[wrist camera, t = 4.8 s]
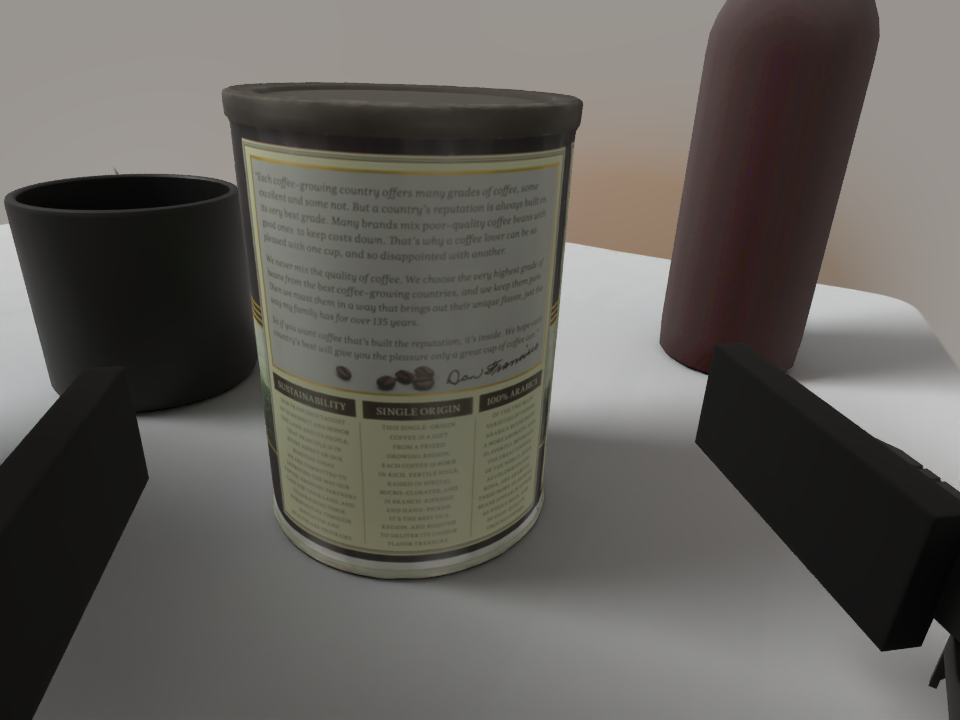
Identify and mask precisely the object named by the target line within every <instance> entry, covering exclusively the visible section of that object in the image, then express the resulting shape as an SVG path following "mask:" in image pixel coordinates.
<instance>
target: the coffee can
mask: <svg viewBox="0 0 960 720" xmlns="http://www.w3.org/2000/svg"><path fill="white" fill-rule="evenodd" d="M222 102H223V108H224V114H225V115H226V116H227V117H228V119H229V121H230V127H231V135H232V144H233V151H234V160H235V170H236V178H237V187H238V194H239V203H240V210H241V219H242V229H243V238H244V246H245V253H246V261H247V270H248V279H249V287H250V293H251V301H252V309H253V317H254V326H255V335H256V343H257V352H258V360H259V369H260V377H261V385H262V395H263V405H264V413H265V421H266V429H267V439H268V447H269V456H270V464H271V473H272V481H273V489H274V490H273V508H274V512H275V515H276V518H277V521H278V523H279V525H280V527H281V529H282V530H283V532H284V534H285V535H286V536H287V537H288V539H289V540H290V541H291V542H292V543H293V544H294V545H296V546H297V547H298V548H300V549H301V550H302V551H303V552H305V553H306V554H308V555H310V556H311V557H313V558H314V559H316V560H318V561H320V562H322V563H325V564H327V565H329V566H332V567H335V568H337V569H340V570H344V571H347V572H351V573H355V574H359V575H364V576H371V577H375V578H384V579H394V578H426V577H434V576H440V575H445V574H449V573H454V572H458V571H461V570H464V569H467V568H470V567H473V566H476V565H479V564H481V563H483V562H485V561H487V560H489V559H492V558H494V557H496V556H498V555H500V554H502V553H503V552H505V551H506V550H507V549H508V548H510V547H511V546H512V545H513V544H515V543H516V542H518V541H519V540H520V539H521V538H522V537H523V536H524V535H525V534H526V533H527V532H528V531H529V530H530V529H531V527H532V526H533V525H534V523H535V521H536V520H537V518H538V516H539V514H540V511H541V509H542V505H543V501H544V486H543V478H544V465H545V454H546V443H547V432H548V422H549V412H550V401H551V390H552V379H553V368H554V358H555V348H556V338H557V328H558V318H559V306H560V294H561V283H562V272H563V261H564V250H565V239H566V228H567V218H568V208H569V198H570V197H569V196H570V187H571V175H572V165H573V153H574V141H575V134H576V130H577V129H578V127H579V126H580V122H581V116H582V107H583V102H582V101H581V100H580V99H578V98H576V97H574V96H570V95H563V94H556V93H545V92H536V91H524V90H511V89H493V88H478V87H456V86H436V85H405V84H370V83H320V82H306V83H265V84H261V83H259V84H244V85H235V86H230V87H228V88H225V89H223V90H222Z"/></svg>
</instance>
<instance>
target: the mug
mask: <svg viewBox="0 0 960 720" xmlns="http://www.w3.org/2000/svg"><path fill="white" fill-rule="evenodd" d="M4 204H5V209H6V212H7V216H8V220H9V224H10V228H11V232H12V235H13V239H14V243H15V247H16V251H17V255H18V258H19V262H20V266H21V270H22V274H23V277H24V281H25V285H26V289H27V293H28V297H29V300H30V304H31V308H32V312H33V316H34V320H35V323H36V327H37V331H38V335H39V339H40V343H41V346H42V350H43V354H44V358H45V362H46V365H47V369H48V373H49V377H50V381H51V385H52V387H53V388H54V389H55V391H56V392H57V393H58V394H59V395H60V396H61V395H62V394H63V393H64V392H65V390H66V389H67V388H68V387H69V386H70V385H71V384H72V382H73V381H74V380H75V379H76V378H77V377H78V375H79V374H80V373H81V372H82V371H83V370H84V368H92V367H118V366H126V370H127V375H128V380H129V384H130V389H131V394H132V399H133V404H134V408H135V412H136V411H148V410H157V409H164V408H170V407H175V406H179V405H184V404H188V403H192V402H195V401H199V400H202V399H205V398H208V397H210V396H213V395H216V394H218V393H220V392H223V391H225V390H227V389H229V388H231V387H232V386H234V385H236V384H237V383H239V382H240V381H242V380H243V379H244V378H245V377H246V376H248V374H249V373H250V372H251V371H252V370H253V368H254V365H255V363H256V360H257V356H258V352H257V343H256V335H255V326H254V317H253V309H252V301H251V293H250V287H249V279H248V270H247V261H246V253H245V246H244V238H243V229H242V219H241V210H240V203H239V194H238V188H237V186H235V185H234V184H232V183H229V182H226V181H223V180H219V179H214V178H208V177H200V176H191V175H175V174H123V175H102V176H89V177H78V178H70V179H62V180H55V181H49V182H44V183H38V184H34V185H30V186H27V187H23V188H20V189H17V190H15V191H13V192H11V193H9V194H7V195H6V196H5V200H4Z"/></svg>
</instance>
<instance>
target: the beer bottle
mask: <svg viewBox="0 0 960 720" xmlns="http://www.w3.org/2000/svg"><path fill="white" fill-rule="evenodd" d="M879 37H880V36H879V16H878V12H877V8H876V3H875V0H727V1H726V3H725V5H724V6H723V7H722V9H721V11H720V12H719V14H718V16H717V18H716V20H715V22H714V25H713V27H712V29H711V32H710V35H709V40H708V45H707V50H706V54H705V61H704V66H703V72H702V78H701V85H700V91H699V96H698V103H697V108H696V115H695V120H694V127H693V133H692V139H691V145H690V151H689V157H688V163H687V169H686V175H685V181H684V187H683V193H682V199H681V206H680V211H679V217H678V224H677V229H676V235H675V242H674V248H673V254H672V259H671V266H670V272H669V278H668V284H667V290H666V296H665V302H664V308H663V314H662V322H661V333H660V345H661V346H662V347H663V349H664V350H665V352H666V353H667V354H668V355H669V356H670V357H672V358H673V359H675V360H677V361H678V362H680V363H682V364H683V365H685V366H687V367H690V368H693V369H696V370H699V371H702V372H704V373H707V374H709V371H710V366H711V361H712V356H713V351H714V346H715V344H724V343H745V344H747V345H748V346H749V347H751V348H752V349H753V350H755V351H756V352H757V353H759V354H760V355H762V356H763V357H764V358H766V359H767V360H768V361H770V362H771V363H773V364H774V365H775V366H777V367H778V368H779V369H781V370H782V371H784V372H785V371H787V370H788V369H789V368H791V367H792V366H793V364H794V361H795V358H796V355H797V352H798V349H799V346H800V343H801V340H802V337H803V333H804V329H805V326H806V322H807V318H808V314H809V310H810V306H811V302H812V299H813V295H814V291H815V287H816V283H817V279H818V275H819V272H820V268H821V264H822V260H823V256H824V253H825V249H826V245H827V241H828V237H829V233H830V229H831V225H832V222H833V218H834V214H835V210H836V206H837V202H838V199H839V195H840V191H841V187H842V183H843V180H844V176H845V172H846V168H847V164H848V160H849V156H850V153H851V148H852V145H853V141H854V137H855V133H856V129H857V126H858V122H859V118H860V114H861V110H862V107H863V103H864V99H865V95H866V91H867V87H868V83H869V79H870V76H871V72H872V68H873V64H874V60H875V55H876V51H877V46H878V41H879Z"/></svg>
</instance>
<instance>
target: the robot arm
mask: <svg viewBox="0 0 960 720" xmlns="http://www.w3.org/2000/svg"><path fill="white" fill-rule="evenodd" d="M695 443H696V444H697V445H698V446H699V447H700V448H701V449H702V451H703V452H704V453H705V454H706V455H707V456H708V457H709V458H710V460H711V461H712V462H713V463H714V464H715V465H716V466H717V467H718V469H719V470H720V471H721V472H722V473H723V474H724V475H725V476H726V478H727V479H728V480H729V481H730V482H731V483H732V484H733V485H734V487H735V488H736V489H737V490H738V491H739V492H740V493H741V494H742V496H743V497H744V498H745V499H746V500H747V501H748V502H749V503H750V505H751V506H752V507H753V508H754V509H755V510H756V511H757V512H758V514H759V515H760V516H761V517H762V518H763V519H764V520H765V521H766V523H767V524H768V525H769V526H770V527H771V528H772V529H773V530H774V532H775V533H776V534H777V535H778V536H779V537H780V538H781V539H782V541H783V542H784V543H785V544H786V545H787V546H788V547H789V548H790V550H791V551H792V552H793V553H794V554H795V555H796V556H797V557H798V558H799V560H800V561H801V562H802V563H803V564H804V565H805V566H806V567H807V569H808V570H809V571H810V572H811V573H812V574H813V575H814V576H815V578H816V579H817V580H818V581H819V582H820V583H821V584H822V585H823V587H824V588H825V589H826V590H827V591H828V592H829V593H830V594H831V596H832V597H833V598H834V599H835V600H836V601H837V602H838V603H839V605H840V606H841V607H842V608H843V609H844V610H845V611H846V612H847V614H848V615H849V616H850V617H851V618H852V619H853V620H854V621H855V623H856V624H857V625H858V626H859V627H860V628H861V629H862V630H863V632H864V633H865V634H866V635H867V636H868V637H869V638H870V639H871V641H872V642H873V643H874V644H875V645H876V646H877V647H878V648H879V650H880V651H881V652H883V651H890V650H898V649H905V648H913V647H920V646H922V643H923V641H924V639H925V637H926V634H927V632H928V630H929V627H930V625H931V623H932V620H933V618H934V619H935V620H936V621H937V622H938V623H939V624H940V625H941V626H943V627H944V628H945V629H946V630H947V631H948V632H949V633H950V637H949V639H948V641H947V643H946V645H945V648H944V650H943V652H942V654H941V656H940V659H939V661H938V663H937V665H936V667H935V669H934V672H933V674H932V676H931V679H930V682H929V686H930V687H933V688H935V689H936V688H937V686H938V684H939V682H940V680H942V679H945V678H946V688H947V700H948V711H949V720H960V492H959V491H958V490H956V489H955V488H954V487H952V486H951V485H949V484H948V483H947V482H941V480H940V479H941V478H940V477H938V476H937V475H935V474H934V473H933V472H931V471H930V470H928V469H923V465H921V464H920V463H919V462H917V461H916V460H914V459H913V458H912V457H910V456H909V455H907V454H906V453H905V452H903V451H902V450H900V449H898V448H896V447H894V446H891V445H889V444H887V443H885V442H883V441H881V440H879V439H876V438H874V437H873V436H871V435H870V434H869V433H867V432H866V431H865V430H863V429H862V428H860V427H859V426H858V425H856V424H855V423H854V422H852V421H851V420H849V419H848V418H847V417H845V416H844V415H843V414H841V413H840V412H838V411H837V410H836V409H834V408H833V407H832V406H830V405H829V404H827V403H826V402H825V401H823V400H822V399H821V398H819V397H818V396H816V395H815V394H814V393H812V392H811V391H810V390H808V389H807V388H806V387H804V386H803V385H801V384H800V383H799V382H797V381H796V380H795V379H793V378H792V377H790V376H789V375H788V374H786V373H785V372H784V371H782V370H781V369H779V368H778V367H777V366H775V365H774V364H773V363H771V362H770V361H768V360H767V359H766V358H764V357H763V356H762V355H760V354H759V353H757V352H756V351H755V350H753V349H752V348H751V347H749V346H748V345H747V344H745V343H724V344H715V346H714V351H713V356H712V361H711V366H710V371H709V376H708V381H707V386H706V391H705V395H704V400H703V405H702V410H701V415H700V420H699V425H698V430H697V435H696V440H695ZM148 479H149V476H148V471H147V466H146V461H145V457H144V452H143V447H142V442H141V437H140V433H139V428H138V423H137V418H136V413H135V408H134V404H133V399H132V394H131V389H130V384H129V380H128V375H127V370H126V366H118V367H92V368H84V370H83V371H82V372H81V373H80V374H79V375H78V377H77V378H76V379H75V380H74V381H73V382H72V384H71V385H70V386H69V387H68V388H67V389H66V390H65V392H64V393H63V394H62V395H61V396H60V397H59V399H58V400H57V401H56V402H55V403H54V404H53V406H52V407H51V408H50V409H49V410H48V411H47V412H46V414H45V415H44V416H43V417H42V418H41V419H40V421H39V422H38V423H37V424H36V425H35V426H34V428H33V429H32V430H31V431H30V432H29V433H28V434H27V436H26V437H25V438H24V439H23V440H22V441H21V443H20V444H19V445H18V446H17V447H16V448H15V450H14V451H13V452H12V453H11V454H10V455H9V456H8V458H7V459H6V460H5V461H4V462H3V463H2V465H1V466H0V720H32V719H33V717H34V715H35V712H36V710H37V708H38V706H39V704H40V702H41V700H42V698H43V696H44V694H45V692H46V690H47V688H48V686H49V684H50V682H51V679H52V677H53V675H54V673H55V671H56V669H57V667H58V665H59V663H60V661H61V659H62V657H63V655H64V653H65V651H66V649H67V646H68V644H69V642H70V640H71V638H72V636H73V634H74V632H75V630H76V628H77V626H78V624H79V622H80V620H81V618H82V615H83V613H84V611H85V609H86V607H87V605H88V603H89V601H90V599H91V597H92V595H93V593H94V591H95V589H96V587H97V585H98V582H99V580H100V578H101V576H102V574H103V572H104V570H105V568H106V566H107V564H108V562H109V560H110V558H111V556H112V554H113V552H114V549H115V547H116V545H117V543H118V541H119V539H120V537H121V535H122V533H123V531H124V529H125V527H126V525H127V523H128V521H129V518H130V516H131V514H132V512H133V510H134V508H135V506H136V504H137V502H138V500H139V498H140V496H141V494H142V492H143V490H144V488H145V485H146V483H147V481H148Z"/></svg>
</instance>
